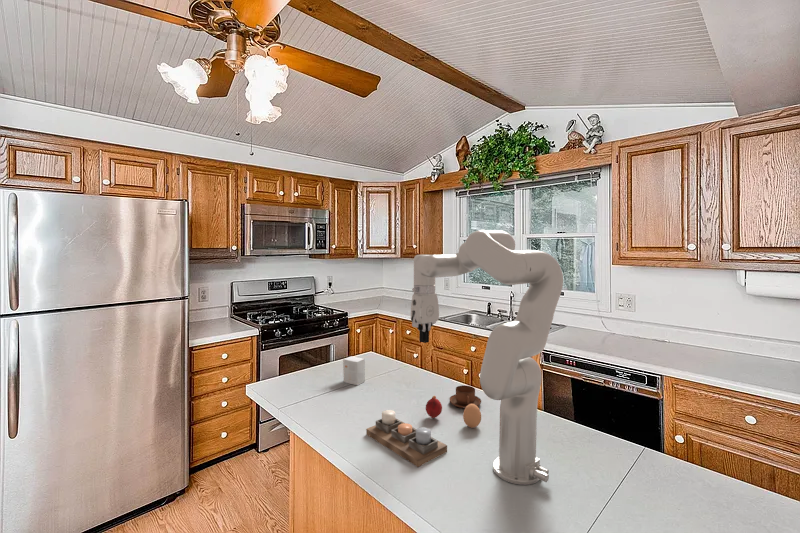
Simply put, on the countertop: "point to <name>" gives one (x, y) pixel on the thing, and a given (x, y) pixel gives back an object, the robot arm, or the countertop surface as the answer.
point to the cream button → (388, 417)
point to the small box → (354, 370)
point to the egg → (472, 416)
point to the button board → (405, 443)
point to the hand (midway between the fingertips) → (424, 341)
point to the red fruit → (433, 407)
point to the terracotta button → (404, 429)
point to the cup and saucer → (465, 397)
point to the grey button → (423, 436)
